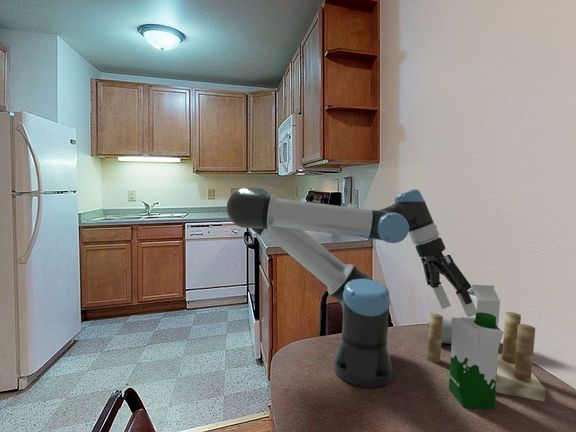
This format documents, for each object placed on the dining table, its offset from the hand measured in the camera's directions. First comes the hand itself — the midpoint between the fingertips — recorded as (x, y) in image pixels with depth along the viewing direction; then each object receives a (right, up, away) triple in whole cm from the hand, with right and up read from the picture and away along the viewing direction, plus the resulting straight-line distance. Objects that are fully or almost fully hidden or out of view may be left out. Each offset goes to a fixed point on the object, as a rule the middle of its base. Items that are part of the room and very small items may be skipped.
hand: (458, 311), depth 90 cm
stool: (+7, -16, -6) cm, 18 cm away
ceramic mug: (+2, -15, +16) cm, 21 cm away
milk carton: (+15, -15, +15) cm, 26 cm away
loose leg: (-6, -15, +2) cm, 16 cm away
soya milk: (-5, -16, -15) cm, 23 cm away
